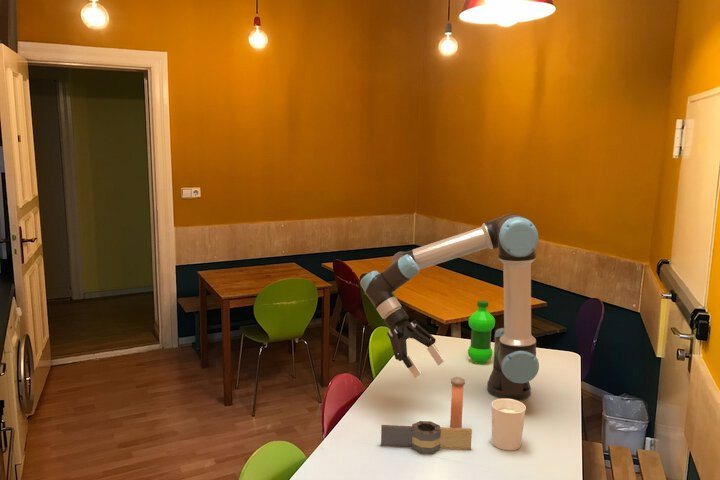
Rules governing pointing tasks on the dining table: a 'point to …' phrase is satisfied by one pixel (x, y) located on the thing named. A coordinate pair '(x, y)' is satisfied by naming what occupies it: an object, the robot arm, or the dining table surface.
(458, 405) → the hinge pin
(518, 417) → the candle holder
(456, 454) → the dining table surface
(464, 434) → the hinge
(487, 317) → the plastic bottle
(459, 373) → the dining table surface
